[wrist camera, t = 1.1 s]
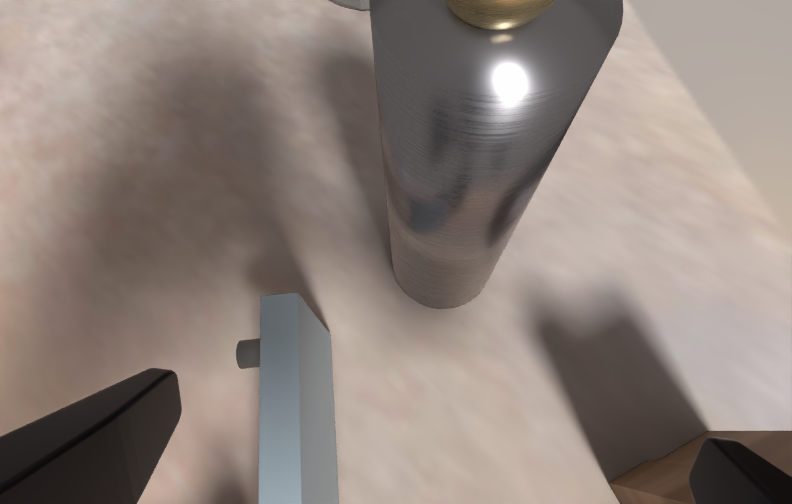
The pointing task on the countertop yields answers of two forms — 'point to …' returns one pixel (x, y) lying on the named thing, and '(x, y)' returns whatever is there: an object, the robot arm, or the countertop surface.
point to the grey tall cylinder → (475, 124)
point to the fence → (669, 477)
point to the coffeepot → (353, 4)
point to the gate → (294, 403)
